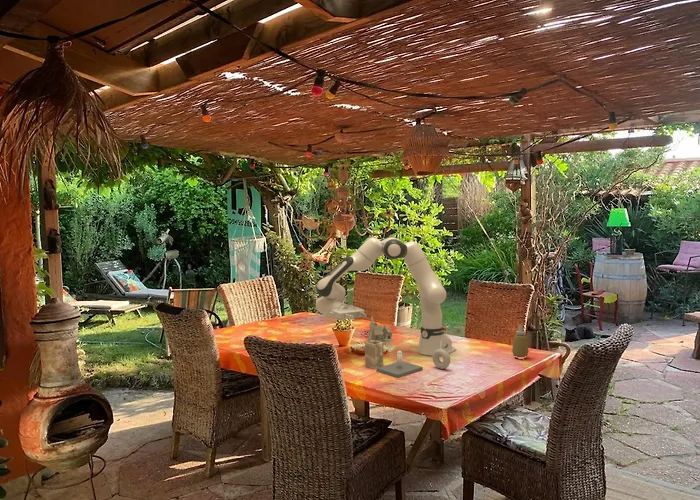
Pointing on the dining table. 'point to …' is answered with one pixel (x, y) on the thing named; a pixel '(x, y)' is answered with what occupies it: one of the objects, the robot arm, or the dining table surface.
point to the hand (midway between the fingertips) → (359, 317)
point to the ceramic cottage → (379, 333)
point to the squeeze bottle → (520, 343)
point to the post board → (399, 368)
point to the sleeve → (374, 354)
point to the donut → (437, 361)
